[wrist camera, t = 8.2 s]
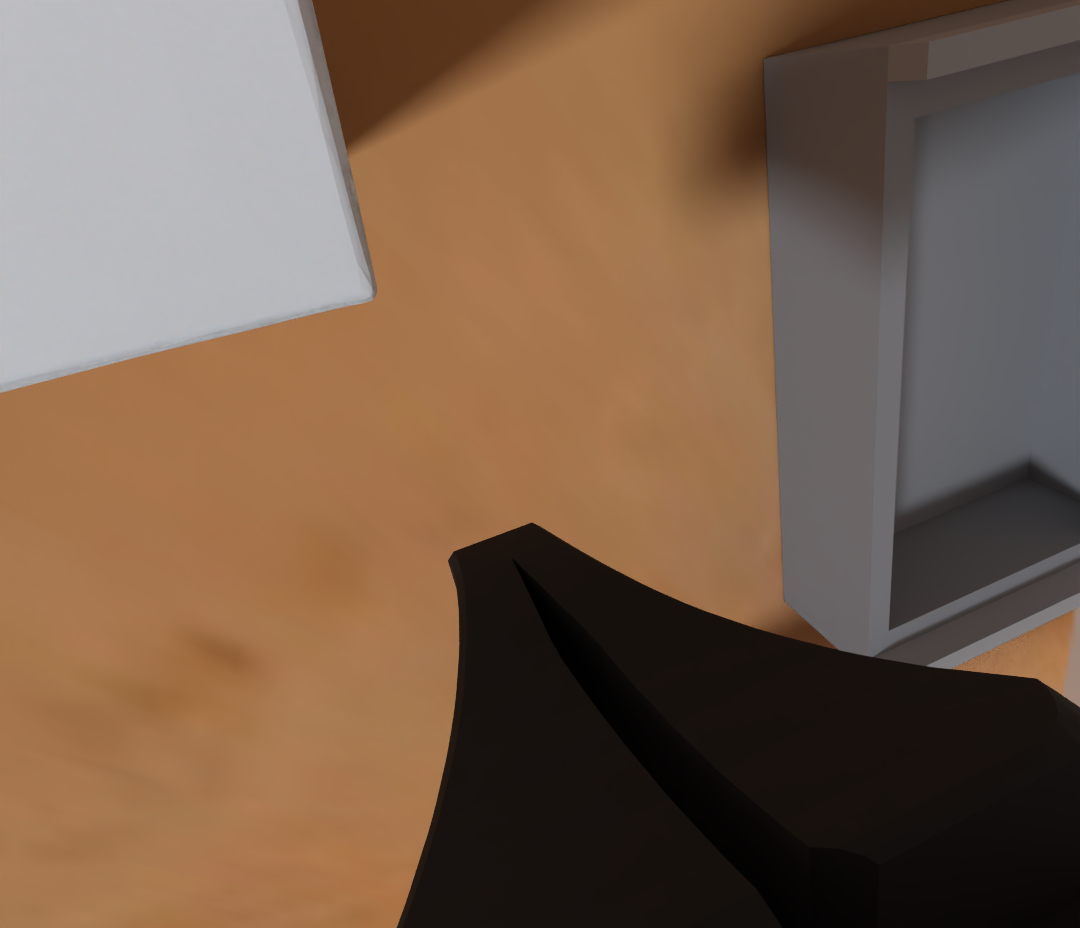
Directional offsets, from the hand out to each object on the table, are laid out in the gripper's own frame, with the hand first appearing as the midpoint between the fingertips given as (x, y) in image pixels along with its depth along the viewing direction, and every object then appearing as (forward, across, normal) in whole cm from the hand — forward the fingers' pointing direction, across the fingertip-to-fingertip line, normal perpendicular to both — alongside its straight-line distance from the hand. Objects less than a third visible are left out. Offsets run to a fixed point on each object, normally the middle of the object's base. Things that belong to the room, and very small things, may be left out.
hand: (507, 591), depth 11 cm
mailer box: (+10, -18, +4) cm, 21 cm away
